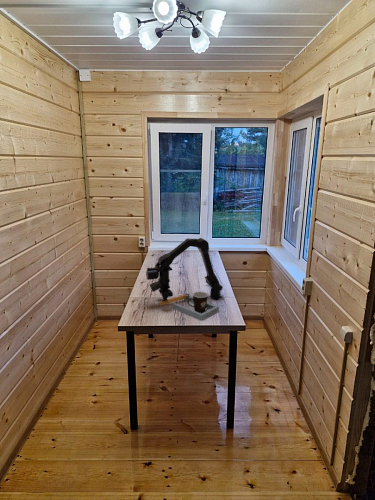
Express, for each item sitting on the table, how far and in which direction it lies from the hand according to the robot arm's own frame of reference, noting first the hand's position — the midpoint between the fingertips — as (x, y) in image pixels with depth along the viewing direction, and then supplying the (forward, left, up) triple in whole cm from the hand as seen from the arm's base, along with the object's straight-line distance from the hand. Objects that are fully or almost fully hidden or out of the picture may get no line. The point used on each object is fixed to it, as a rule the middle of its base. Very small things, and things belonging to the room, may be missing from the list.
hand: (164, 302), depth 192 cm
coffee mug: (-7, +20, -2) cm, 21 cm away
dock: (-7, +16, -2) cm, 18 cm away
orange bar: (-5, +4, 0) cm, 6 cm away
